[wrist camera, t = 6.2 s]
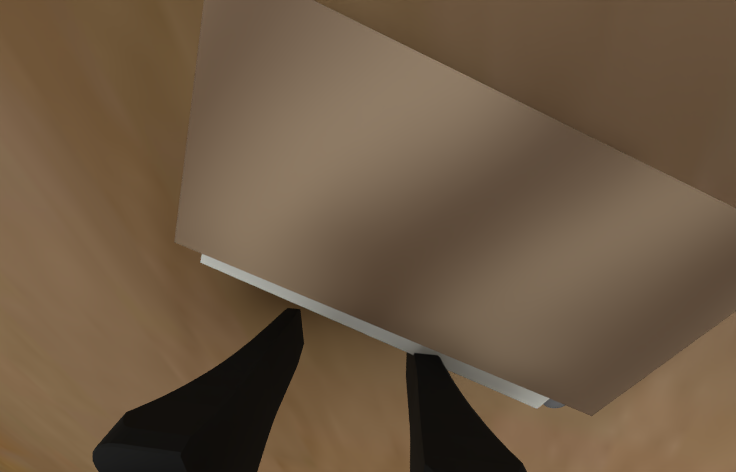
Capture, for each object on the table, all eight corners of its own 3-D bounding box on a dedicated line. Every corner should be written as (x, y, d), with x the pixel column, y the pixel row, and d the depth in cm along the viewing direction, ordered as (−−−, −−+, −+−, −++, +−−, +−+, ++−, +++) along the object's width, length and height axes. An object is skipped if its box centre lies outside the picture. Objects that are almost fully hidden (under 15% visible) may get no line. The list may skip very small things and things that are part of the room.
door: (530, 307, 16) (578, 403, 11) (508, 330, 16) (544, 429, 12) (271, 186, 14) (205, 238, 10) (261, 218, 15) (196, 279, 11)
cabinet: (646, 175, 12) (820, 249, 7) (531, 301, 16) (592, 416, 10) (305, 8, 11) (210, -51, 6) (260, 182, 15) (174, 242, 9)
